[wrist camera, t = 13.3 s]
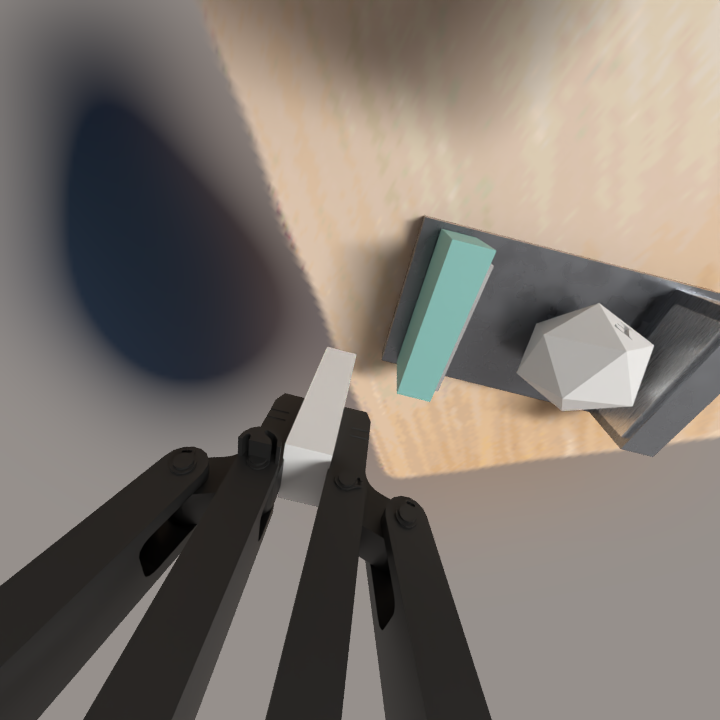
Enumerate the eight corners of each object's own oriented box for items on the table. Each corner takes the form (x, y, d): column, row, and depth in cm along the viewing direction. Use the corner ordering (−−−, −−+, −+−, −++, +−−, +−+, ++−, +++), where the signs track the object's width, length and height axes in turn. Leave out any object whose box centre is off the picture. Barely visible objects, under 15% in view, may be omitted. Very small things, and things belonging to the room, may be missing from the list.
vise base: (424, 215, 26) (433, 225, 19) (710, 290, 26) (812, 323, 20) (382, 353, 33) (378, 393, 27) (609, 409, 34) (659, 463, 27)
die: (608, 362, 30) (717, 344, 20) (552, 427, 29) (638, 441, 20) (541, 308, 31) (615, 268, 21) (486, 370, 30) (537, 358, 21)
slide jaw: (441, 228, 25) (452, 239, 20) (481, 238, 25) (502, 252, 20) (396, 360, 31) (396, 393, 26) (428, 368, 31) (434, 402, 26)
